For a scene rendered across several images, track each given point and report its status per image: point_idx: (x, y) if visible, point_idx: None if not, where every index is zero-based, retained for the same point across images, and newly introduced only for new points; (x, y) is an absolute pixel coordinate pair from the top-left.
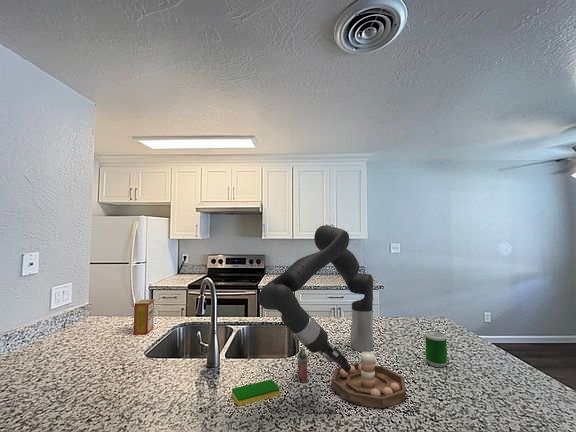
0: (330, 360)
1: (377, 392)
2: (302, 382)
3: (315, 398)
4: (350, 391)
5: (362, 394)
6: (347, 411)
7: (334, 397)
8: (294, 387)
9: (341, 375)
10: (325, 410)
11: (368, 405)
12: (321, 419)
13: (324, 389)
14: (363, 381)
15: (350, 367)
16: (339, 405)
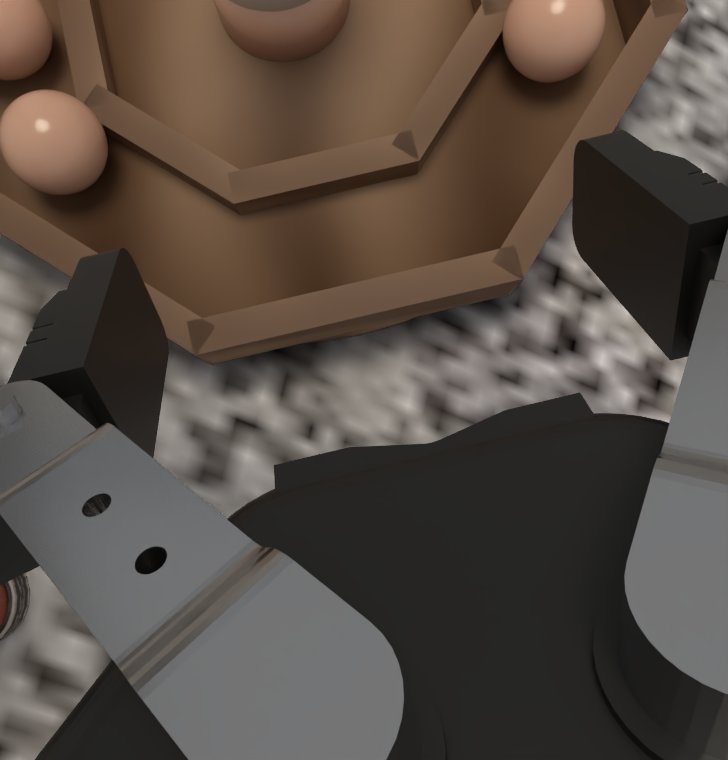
0: (158, 346)
1: (600, 2)
2: (16, 626)
3: None
4: (483, 253)
5: (566, 160)
6: (606, 374)
7: (364, 396)
8: None
9: (83, 187)
10: None
11: None
12: None
13: (200, 436)
14: (300, 23)
15: (676, 157)
16: (502, 405)
